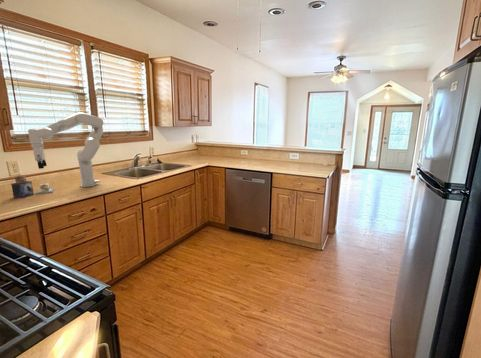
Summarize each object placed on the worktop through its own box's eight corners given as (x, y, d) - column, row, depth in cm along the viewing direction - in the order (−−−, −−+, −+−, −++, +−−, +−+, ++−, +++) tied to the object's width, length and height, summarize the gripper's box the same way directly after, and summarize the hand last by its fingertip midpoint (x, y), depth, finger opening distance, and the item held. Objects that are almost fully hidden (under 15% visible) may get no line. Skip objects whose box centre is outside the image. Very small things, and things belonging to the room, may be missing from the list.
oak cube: (49, 189, 208) (48, 183, 207) (48, 190, 204) (47, 184, 203) (42, 189, 206) (41, 183, 205) (40, 191, 202) (39, 185, 201)
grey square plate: (54, 189, 212) (54, 188, 212) (52, 192, 203) (51, 191, 203) (39, 190, 208) (39, 189, 207) (36, 194, 199) (36, 192, 199)
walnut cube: (26, 181, 195) (25, 174, 194) (24, 182, 191) (23, 176, 189) (18, 182, 193) (16, 175, 192) (15, 183, 188) (14, 176, 187)
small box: (19, 198, 188) (17, 184, 186) (13, 197, 190) (10, 183, 188) (34, 194, 198) (32, 181, 196) (28, 193, 200) (25, 180, 198)
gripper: (34, 144, 203) (39, 166, 207) (28, 147, 188) (34, 170, 192) (46, 143, 206) (50, 164, 211) (41, 146, 191) (46, 168, 195)
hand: (42, 167), depth 201 cm, fingers open, 9 cm apart
